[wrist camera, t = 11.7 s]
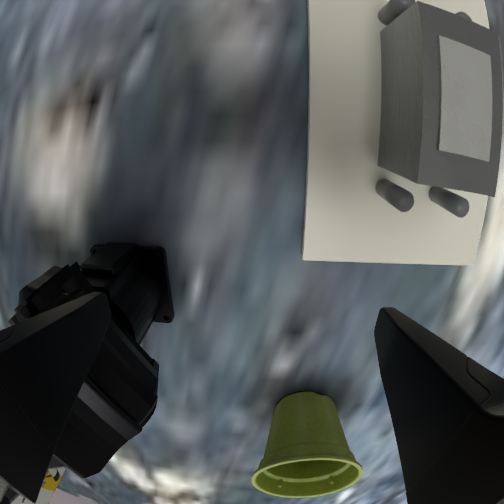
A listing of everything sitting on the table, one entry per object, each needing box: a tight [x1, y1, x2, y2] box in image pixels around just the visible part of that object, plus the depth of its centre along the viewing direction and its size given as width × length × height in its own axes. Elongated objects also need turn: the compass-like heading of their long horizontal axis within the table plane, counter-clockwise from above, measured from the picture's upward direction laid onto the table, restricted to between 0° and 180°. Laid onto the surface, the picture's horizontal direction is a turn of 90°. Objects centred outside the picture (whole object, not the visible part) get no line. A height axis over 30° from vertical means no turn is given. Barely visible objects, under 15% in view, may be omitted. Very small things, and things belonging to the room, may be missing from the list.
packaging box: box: [11, 467, 65, 504], centre depth 32 cm, size 16×16×25 cm
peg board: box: [302, 0, 489, 265], centre depth 14 cm, size 22×14×4 cm, turn 0°
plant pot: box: [252, 392, 363, 498], centre depth 24 cm, size 9×9×9 cm
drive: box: [377, 1, 503, 197], centre depth 13 cm, size 9×5×6 cm, turn 179°
